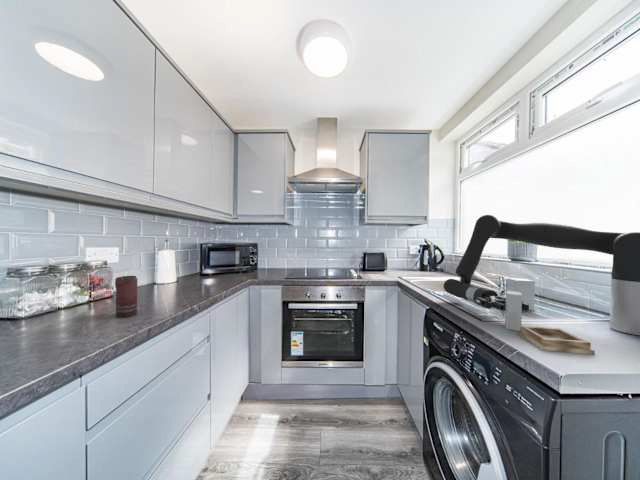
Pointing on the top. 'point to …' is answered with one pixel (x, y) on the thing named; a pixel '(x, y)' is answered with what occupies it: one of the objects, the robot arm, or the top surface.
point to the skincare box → (513, 310)
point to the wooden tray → (555, 340)
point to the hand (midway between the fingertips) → (516, 308)
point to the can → (126, 296)
